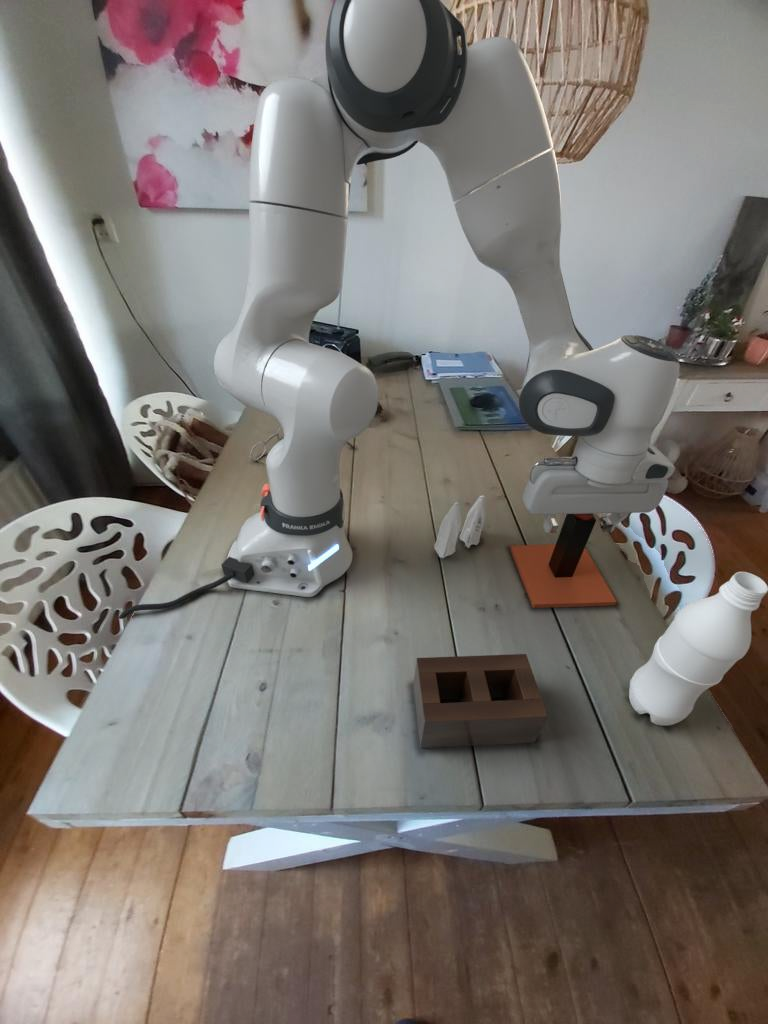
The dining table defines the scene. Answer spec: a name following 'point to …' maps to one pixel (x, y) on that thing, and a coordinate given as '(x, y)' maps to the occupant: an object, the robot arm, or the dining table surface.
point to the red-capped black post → (571, 544)
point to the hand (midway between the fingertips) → (577, 529)
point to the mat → (560, 580)
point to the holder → (477, 701)
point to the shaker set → (452, 527)
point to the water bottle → (697, 650)
